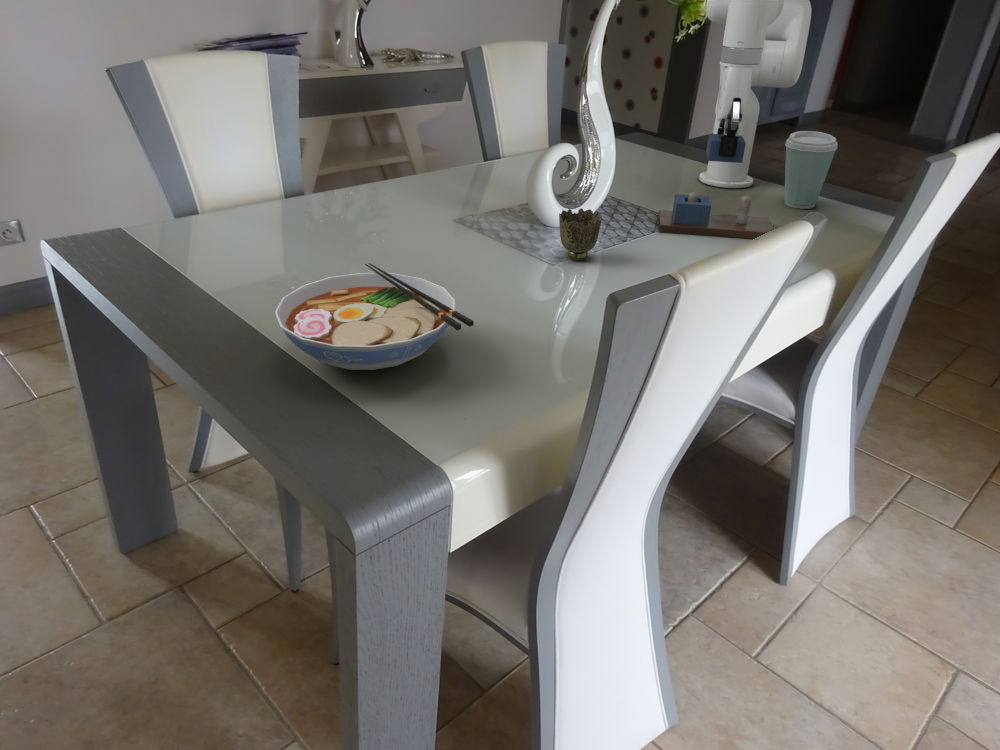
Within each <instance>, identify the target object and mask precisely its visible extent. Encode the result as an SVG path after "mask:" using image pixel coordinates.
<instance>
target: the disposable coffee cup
mask: <svg viewBox="0 0 1000 750" xmlns="http://www.w3.org/2000/svg"><path fill="white" fill-rule="evenodd" d="M838 145H839V144H838V141H837V137H834V136H833V135H832V134H829V133H825V132H822V131H812V130H799V131H795V132H792V133H790V135H789V137H788V138H787V139H786V140H785V143H784V146H785V166H784V167H785V168H784V169H785V171H784V193H783V194H784V196H783V198H784V199H783V201H784V205H786V206H787V207H789V208H793V209H798V210H799V209H800V210H809V209H813V208H815V206H816V205H817V203H818V200H819V197H820V194H821V192H822V190H823V186H824V183H825V182H826V181H825V180H826V178H827V175H828V172H829V170H830V167H831V164H832V162H833V159H834V156H835V154H836V151H837V150H838Z"/></svg>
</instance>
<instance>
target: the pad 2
mask: <svg viewBox="0 0 1000 750" xmlns="http://www.w3.org/2000/svg"><path fill="white" fill-rule="evenodd" d="M720 141H721V134H713V133H708V138H707V144H706V151H705V155H706V158H707V161H718V162H733V163H742V161H743V155H744V150H745V145H746V142H745V140H744V139H743V137H742V136H739V135H738V143H737V148H736V154H735V157H720V156H719V155H718V153H719V147H720Z"/></svg>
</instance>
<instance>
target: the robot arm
mask: <svg viewBox="0 0 1000 750" xmlns="http://www.w3.org/2000/svg"><path fill="white" fill-rule="evenodd" d="M706 9H707V13H706V16H707V19H708V20H709V21H710V22H711V23H713V24H721V25H725V27H724V33H723V39H722V46H721V52H720V58H719V86H718V87H719V88H718V94H717V99H716V105H715V108H714V114H715V118H714V124H713V131H712V134H721V141H720V147H719V153H718V155H719V156H720V157H735V154H736V148H737V143H738V135H739V136H742V137H743V139H744V140H745V142H746V145H745V150H744V155H743V161H742V163H733V162H718V161H708V160H707V161H708V162H707V167H706V171H702V172H700V173H699V176H698V180H699V182H701V183H702V184H705V185H708V186H712V187H717V188H723V189H744V188H749V187H751V186H752V185H753V183H754V178H753V177H752V176H750V175H749V169H750V168H749V167H750V163H751V159H752V158H751V157H752V152H753V148H754V142H755V138H756V131H757V126H758V121H759V115H760V110H761V109H760V102H759V99H758V98H757V97H758V96H756V94H755V93H754V91H753V89H752V88H754V87H764V88H777V89H779V88H780V89H787V88H792V87H793V86H795V85H796V84H797V82H798V80H799V79H800V76H801V72H802V69H803V63H804V59H805V53H806V48H807V42H808V37H809V32H810V28H811V27H810V26H811V21H812V4H811V1H810V0H706V4H705V10H706Z"/></svg>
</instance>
